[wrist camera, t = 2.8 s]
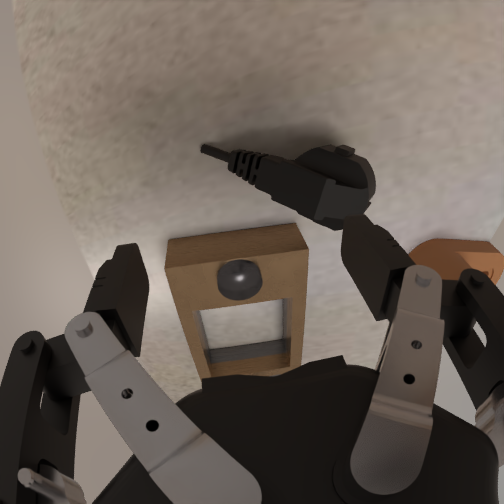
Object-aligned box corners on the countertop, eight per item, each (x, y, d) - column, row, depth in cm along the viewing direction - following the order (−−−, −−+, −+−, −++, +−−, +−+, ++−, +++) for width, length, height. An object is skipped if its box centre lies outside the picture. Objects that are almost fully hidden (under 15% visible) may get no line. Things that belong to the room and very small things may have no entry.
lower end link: (176, 272, 28) (174, 295, 26) (295, 256, 29) (304, 277, 26) (207, 374, 38) (208, 395, 35) (291, 362, 39) (297, 382, 36)
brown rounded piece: (385, 296, 35) (411, 339, 29) (411, 236, 30) (447, 276, 24) (476, 288, 38) (501, 320, 32) (500, 242, 33) (531, 272, 28)
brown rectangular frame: (168, 239, 26) (163, 275, 22) (295, 223, 27) (311, 255, 23) (201, 356, 36) (203, 390, 32) (292, 343, 36) (302, 376, 33)
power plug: (202, 112, 20) (375, 171, 16) (258, 111, 26) (390, 158, 22) (190, 185, 23) (342, 257, 19) (245, 168, 29) (366, 221, 25)
